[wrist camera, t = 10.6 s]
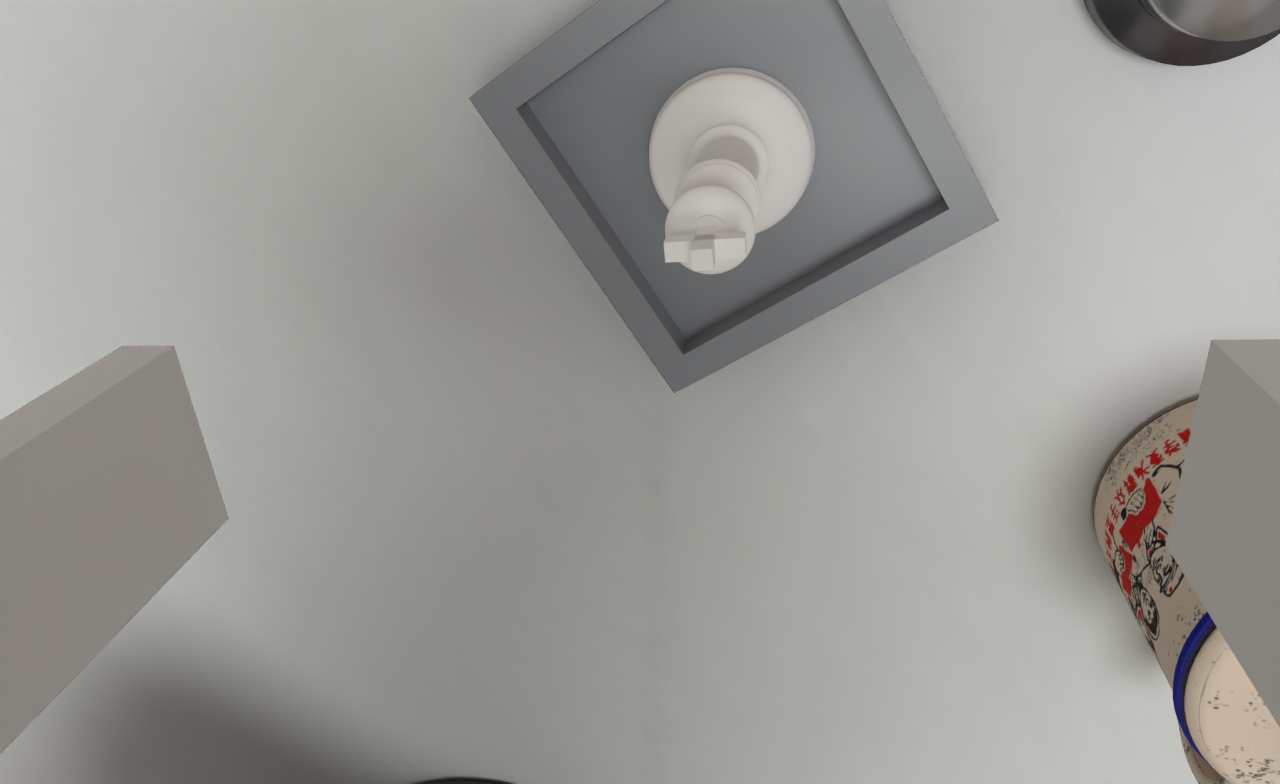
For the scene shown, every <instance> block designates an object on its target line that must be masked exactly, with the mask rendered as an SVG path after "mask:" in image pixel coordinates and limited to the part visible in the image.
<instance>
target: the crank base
mask: <svg viewBox="0 0 1280 784" xmlns="http://www.w3.org/2000/svg"><path fill="white" fill-rule="evenodd" d="M1084 1H1085V4H1086V7H1087V9H1088V11H1089V13H1090V15H1091V17H1092V18H1093V20H1094V22H1095V23H1096V24H1097V26H1098V27H1099V28H1100V30H1101V31H1102V32H1103V33H1104V34H1105V35H1106V36H1107V37H1108V38H1109V39H1110V40H1111V41H1113V42H1114V43H1116V44H1117V45H1119V46H1120V47H1122V48H1123V49H1125V50H1127V51H1129V52H1131V53H1133V54H1136V55H1138V56H1141V57H1144V58H1147V59H1150V60H1153V61H1157V62H1160V63H1164V64H1171V65H1177V66H1197V65H1206V64H1212V63H1217V62H1221V61H1225V60H1229V59H1231V58H1234V57H1237V56H1240V55H1243V54H1245V53H1247V52H1249V51H1251V50H1253V49H1255V48H1257V47H1259V46H1261V45H1263V44H1264V43H1266V42H1268V41H1269V40H1271V39H1272V38H1274V37H1276V36H1277V35H1278V34H1280V29H1278V30H1276V31H1273V32H1271V33H1269V34H1266V35H1263V36H1260V37H1256V38H1252V39H1247V40H1242V41H1215V40H1209V39H1204V38H1200V37H1196V36H1192V35H1188V34H1184V33H1180V32H1177V31H1174V30H1171V29H1168V28H1167V27H1165V26H1163V25H1161V24H1159V23H1158V22H1157V21H1155V20H1154V19H1153V18H1151V17H1150V16H1149V15H1148V14H1147V13H1146V11H1145V10H1144V9H1143V8H1142V6H1141V5H1140V3H1139V2H1138V0H1084Z"/></svg>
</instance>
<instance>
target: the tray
mask: <svg viewBox="0 0 1280 784" xmlns="http://www.w3.org/2000/svg"><path fill="white" fill-rule="evenodd" d="M729 67H736V68H746V69H751V70H755V71H759V72H761V73H764V74H767V75H769V76H771V77H773V78H774V79H776V80H778V81H779V82H780V83H782V84H783V85H784V86H786V87H787V88H788V89H789V90H790V91H791V92H792V93H793V94H794V95H795V96H796V98H797V99H798V100H799V101H800V103H801V104H802V106H803V108H804V109H805V111H806V113H807V115H808V117H809V120H810V123H811V126H812V129H813V134H814V140H815V160H814V166H813V171H812V175H811V178H810V181H809V183H808V185H807V187H806V189H805V191H804V193H803V195H802V196H801V198H800V200H799V201H798V203H797V204H796V205H795V207H794V208H793V209H792V210H791V211H790V212H789V213H788V214H787V215H786V216H785V217H784V218H783V219H782V220H780V221H779V222H778V223H776V224H775V225H773V226H772V227H770V228H768V229H766V230H764V231H762V232H759V233H756V235H755V241H754V244H753V247H752V249H751V251H750V252H749V254H748V256H747V257H746V258H745V259H744V260H743V261H742V262H741V263H740V264H739V265H738V266H736V267H735V268H733V269H731V270H729V271H726V272H723V273H719V274H703V273H698V272H695V271H692V270H690V269H688V268H687V267H685V266H684V265H682V264H681V263H680V262H669V263H665V253H664V240H665V238H666V236H665V223H666V218H667V215H668V212H669V210H668V209H667V207H666V206H665V205H664V203H663V202H662V200H661V199H660V197H659V195H658V193H657V191H656V189H655V186H654V183H653V180H652V177H651V172H650V166H649V143H650V136H651V132H652V128H653V125H654V122H655V120H656V118H657V115H658V113H659V111H660V110H661V108H662V106H663V105H664V103H665V102H666V101H667V99H668V98H669V97H670V96H671V95H672V94H673V93H674V92H675V91H676V90H677V89H678V88H679V87H680V86H682V85H683V84H684V83H685V82H687V81H689V80H690V79H692V78H694V77H695V76H698V75H700V74H702V73H705V72H708V71H711V70H715V69H720V68H729ZM469 99H470V101H471V102H472V103H473V105H474V106H475V108H476V109H477V111H478V112H479V114H480V115H481V116H482V118H483V119H484V121H485V122H486V124H487V125H488V126H489V128H490V129H491V131H492V132H493V134H494V135H495V137H496V138H497V139H498V141H499V142H500V144H501V145H502V147H503V148H504V149H505V151H506V152H507V154H508V155H509V157H510V158H511V160H512V161H513V162H514V164H515V165H516V167H517V168H518V170H519V171H520V172H521V174H522V175H523V177H524V178H525V180H526V181H527V183H528V184H529V185H530V187H531V188H532V190H533V191H534V193H535V194H536V195H537V197H538V198H539V200H540V201H541V203H542V204H543V206H544V207H545V208H546V210H547V211H548V213H549V214H550V216H551V217H552V218H553V220H554V221H555V223H556V224H557V226H558V227H559V229H560V230H561V231H562V233H563V234H564V236H565V237H566V239H567V240H568V241H569V243H570V244H571V246H572V247H573V249H574V250H575V252H576V253H577V254H578V256H579V257H580V259H581V260H582V262H583V263H584V264H585V266H586V267H587V269H588V270H589V272H590V273H591V275H592V276H593V277H594V279H595V280H596V282H597V283H598V285H599V286H600V287H601V289H602V290H603V292H604V293H605V295H606V296H607V297H608V299H609V300H610V302H611V303H612V305H613V306H614V308H615V309H616V310H617V312H618V313H619V315H620V316H621V318H622V319H623V320H624V322H625V323H626V325H627V326H628V328H629V329H630V331H631V332H632V333H633V335H634V336H635V338H636V339H637V341H638V342H639V343H640V345H641V346H642V348H643V349H644V351H645V352H646V354H647V355H648V356H649V358H650V359H651V361H652V362H653V364H654V365H655V366H656V368H657V369H658V371H659V372H660V374H661V375H662V377H663V378H664V379H665V381H666V382H667V384H668V385H669V387H670V388H671V389H672V391H673V392H674V393H675V392H677V391H679V390H681V389H683V388H685V387H687V386H689V385H690V384H692V383H694V382H696V381H698V380H700V379H702V378H704V377H706V376H707V375H709V374H711V373H713V372H715V371H717V370H719V369H721V368H722V367H724V366H726V365H728V364H730V363H732V362H734V361H736V360H737V359H739V358H741V357H743V356H745V355H747V354H749V353H751V352H752V351H754V350H756V349H758V348H760V347H762V346H764V345H766V344H768V343H769V342H771V341H773V340H775V339H777V338H779V337H781V336H783V335H784V334H786V333H788V332H790V331H792V330H794V329H796V328H798V327H799V326H801V325H803V324H805V323H807V322H809V321H811V320H813V319H814V318H816V317H818V316H820V315H822V314H824V313H826V312H828V311H830V310H831V309H833V308H835V307H837V306H839V305H841V304H843V303H845V302H846V301H848V300H850V299H852V298H854V297H856V296H858V295H860V294H861V293H863V292H865V291H867V290H869V289H871V288H873V287H875V286H876V285H878V284H880V283H882V282H884V281H886V280H888V279H890V278H891V277H893V276H895V275H897V274H899V273H901V272H903V271H905V270H907V269H908V268H910V267H912V266H914V265H916V264H918V263H920V262H922V261H923V260H925V259H927V258H929V257H931V256H933V255H935V254H937V253H938V252H940V251H942V250H944V249H946V248H948V247H950V246H952V245H953V244H955V243H957V242H959V241H961V240H963V239H965V238H967V237H969V236H970V235H972V234H974V233H976V232H978V231H980V230H982V229H984V228H985V227H987V226H989V225H991V224H993V223H995V222H997V221H999V220H998V218H997V216H996V214H995V212H994V210H993V208H992V206H991V204H990V203H989V201H988V199H987V197H986V195H985V193H984V191H983V189H982V187H981V185H980V183H979V181H978V179H977V178H976V176H975V174H974V172H973V170H972V168H971V166H970V164H969V162H968V160H967V158H966V156H965V154H964V153H963V151H962V149H961V147H960V145H959V143H958V141H957V139H956V137H955V135H954V133H953V131H952V129H951V128H950V126H949V124H948V122H947V120H946V118H945V116H944V114H943V112H942V110H941V108H940V106H939V104H938V103H937V101H936V99H935V97H934V95H933V93H932V91H931V89H930V87H929V85H928V83H927V81H926V79H925V78H924V76H923V74H922V72H921V70H920V68H919V66H918V64H917V62H916V60H915V58H914V56H913V54H912V53H911V51H910V49H909V47H908V45H907V43H906V41H905V39H904V37H903V35H902V33H901V31H900V29H899V28H898V26H897V24H896V22H895V20H894V18H893V16H892V14H891V12H890V10H889V8H888V6H887V4H886V3H885V1H884V0H600V1H598V2H597V3H596V4H594V5H593V6H592V7H590V8H589V9H588V10H586V11H585V12H584V13H582V14H581V15H580V16H578V17H577V18H576V19H574V20H573V21H572V22H570V23H569V24H568V25H566V26H565V27H564V28H562V29H561V30H560V31H558V32H557V33H555V34H554V35H553V36H551V37H550V38H549V39H547V40H546V41H545V42H543V43H542V44H541V45H539V46H538V47H537V48H535V49H534V50H533V51H531V52H530V53H529V54H527V55H526V56H525V57H523V58H522V59H521V60H519V61H518V62H517V63H515V64H514V65H513V66H511V67H510V68H509V69H507V70H506V71H505V72H503V73H502V74H500V75H499V76H498V77H496V78H495V79H494V80H492V81H491V82H490V83H488V84H487V85H486V86H484V87H483V88H482V89H480V90H479V91H478V92H476V93H475V94H474V95H472V96H471V97H470V98H469Z"/></svg>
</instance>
